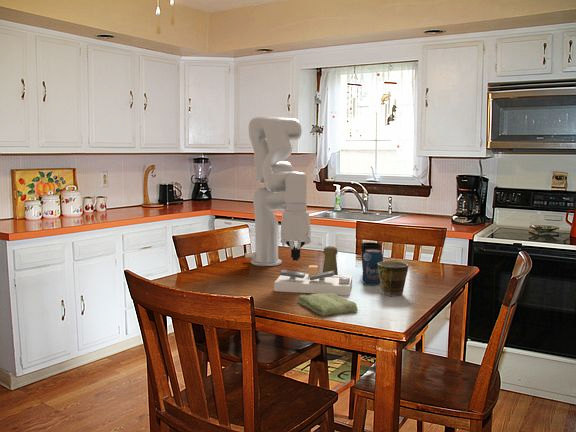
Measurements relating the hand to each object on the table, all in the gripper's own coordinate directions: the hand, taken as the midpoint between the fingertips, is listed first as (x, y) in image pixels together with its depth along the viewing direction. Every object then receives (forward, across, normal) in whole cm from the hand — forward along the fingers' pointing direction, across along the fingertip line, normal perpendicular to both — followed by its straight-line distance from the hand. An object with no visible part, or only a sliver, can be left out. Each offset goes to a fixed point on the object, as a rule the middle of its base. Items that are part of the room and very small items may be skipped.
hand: (295, 259), depth 193 cm
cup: (+9, +26, +19) cm, 33 cm away
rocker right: (+4, +10, -7) cm, 13 cm away
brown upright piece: (+9, +10, +16) cm, 21 cm away
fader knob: (+5, +6, +1) cm, 8 cm away
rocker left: (+4, 0, -7) cm, 8 cm away
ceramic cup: (+10, +32, -8) cm, 35 cm away
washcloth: (+10, +14, -26) cm, 31 cm away
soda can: (+9, +26, +6) cm, 29 cm away
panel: (+9, +7, -4) cm, 12 cm away
